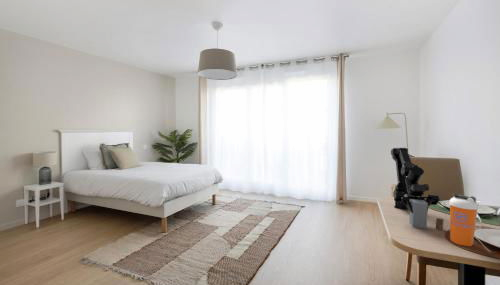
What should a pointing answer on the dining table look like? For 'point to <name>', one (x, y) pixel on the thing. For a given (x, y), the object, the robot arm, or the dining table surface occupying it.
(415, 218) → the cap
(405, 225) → the dining table surface
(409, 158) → the robot arm
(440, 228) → the post
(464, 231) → the shaker bottle
